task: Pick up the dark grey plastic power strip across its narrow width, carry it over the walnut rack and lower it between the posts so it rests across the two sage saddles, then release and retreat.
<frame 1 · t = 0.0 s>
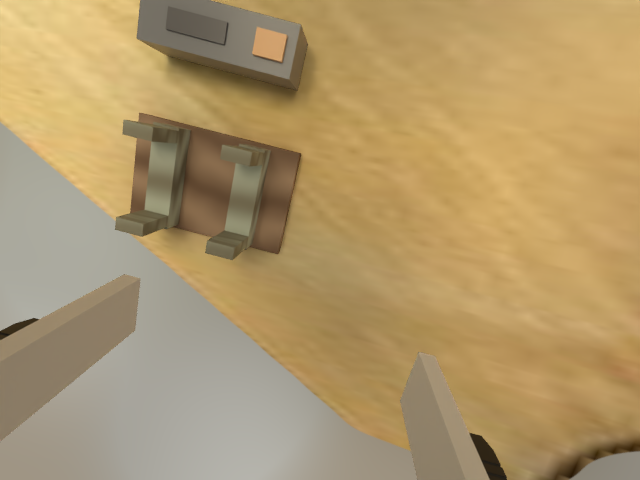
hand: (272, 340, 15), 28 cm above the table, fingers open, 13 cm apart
rack: (214, 185, 42), on the table
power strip: (236, 50, 38), on the table
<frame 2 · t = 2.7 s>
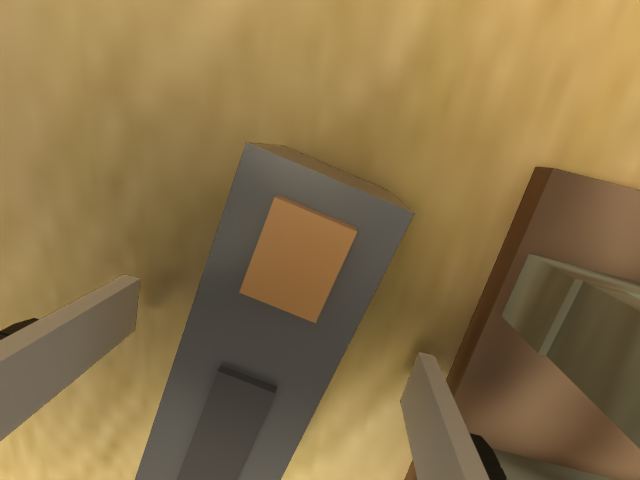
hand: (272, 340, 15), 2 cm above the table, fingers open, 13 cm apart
rack: (577, 393, 17), on the table
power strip: (274, 314, 17), on the table
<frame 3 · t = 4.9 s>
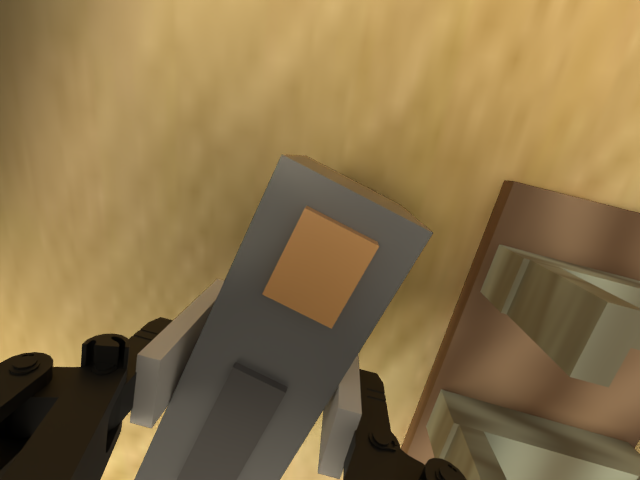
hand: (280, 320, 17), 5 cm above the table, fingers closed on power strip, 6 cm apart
rack: (545, 357, 21), on the table
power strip: (282, 316, 17), point 4 cm above the table, touching gripper
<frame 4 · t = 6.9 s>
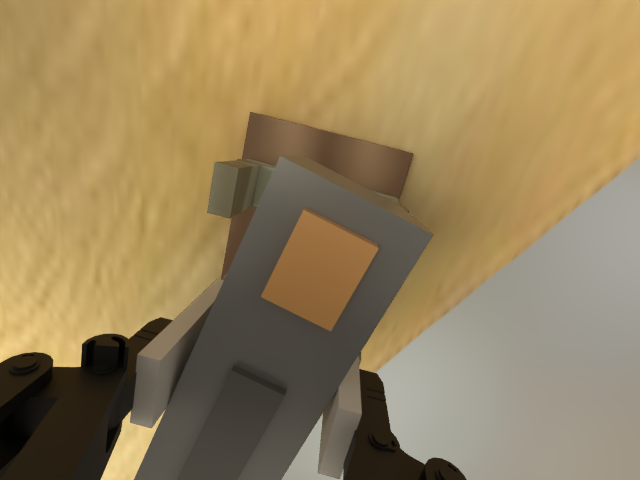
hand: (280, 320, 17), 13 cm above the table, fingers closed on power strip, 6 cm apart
rack: (304, 248, 29), on the table
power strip: (281, 317, 17), point 12 cm above the table, touching gripper
when the fingers open (5 cm above the table, at t = 9.0 s): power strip stays where it is, resting on rack.
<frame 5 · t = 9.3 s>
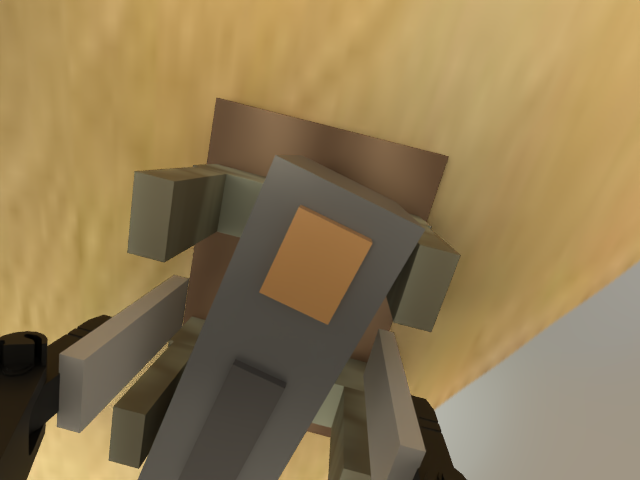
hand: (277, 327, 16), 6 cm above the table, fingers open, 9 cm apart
rack: (295, 284, 21), on the table
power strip: (282, 314, 18), point 4 cm above the table, touching rack
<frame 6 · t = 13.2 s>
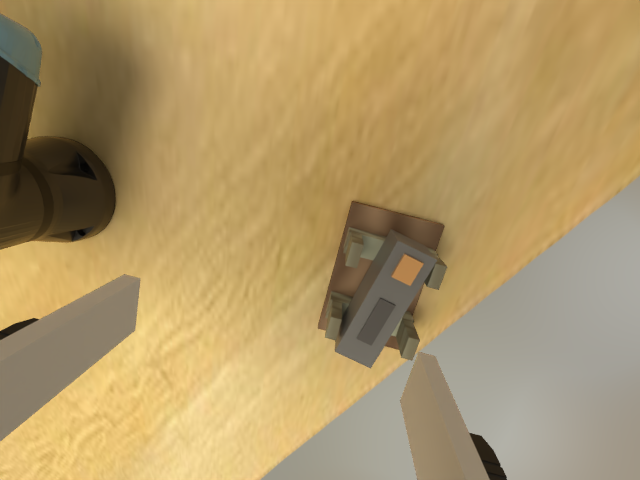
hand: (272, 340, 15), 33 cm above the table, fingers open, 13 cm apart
rack: (376, 277, 48), on the table
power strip: (378, 288, 44), point 4 cm above the table, touching rack
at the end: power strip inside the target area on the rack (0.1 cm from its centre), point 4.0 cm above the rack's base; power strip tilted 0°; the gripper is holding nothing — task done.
